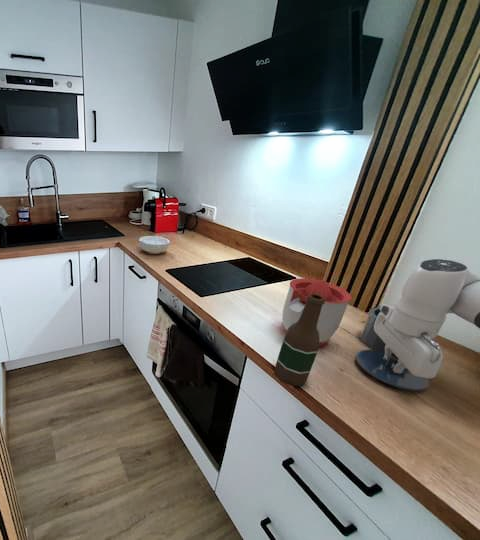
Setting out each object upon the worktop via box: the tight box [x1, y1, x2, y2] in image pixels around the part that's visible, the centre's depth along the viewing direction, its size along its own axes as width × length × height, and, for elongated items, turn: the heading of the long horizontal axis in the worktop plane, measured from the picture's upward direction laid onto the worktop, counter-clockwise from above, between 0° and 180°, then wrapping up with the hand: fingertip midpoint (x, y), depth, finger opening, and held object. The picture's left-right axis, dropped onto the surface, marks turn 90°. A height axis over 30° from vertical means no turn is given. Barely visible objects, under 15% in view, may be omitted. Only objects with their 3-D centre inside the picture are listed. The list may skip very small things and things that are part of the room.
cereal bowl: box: [138, 235, 171, 255], centre depth 160 cm, size 17×17×7 cm
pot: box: [359, 305, 386, 353], centre depth 87 cm, size 14×19×10 cm
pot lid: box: [355, 349, 430, 392], centre depth 76 cm, size 15×15×5 cm
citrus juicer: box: [281, 277, 352, 347], centre depth 88 cm, size 16×17×20 cm
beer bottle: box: [273, 294, 325, 388], centre depth 70 cm, size 8×8×24 cm
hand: (391, 366), depth 76 cm, fingers closed on pot lid, 2 cm apart
